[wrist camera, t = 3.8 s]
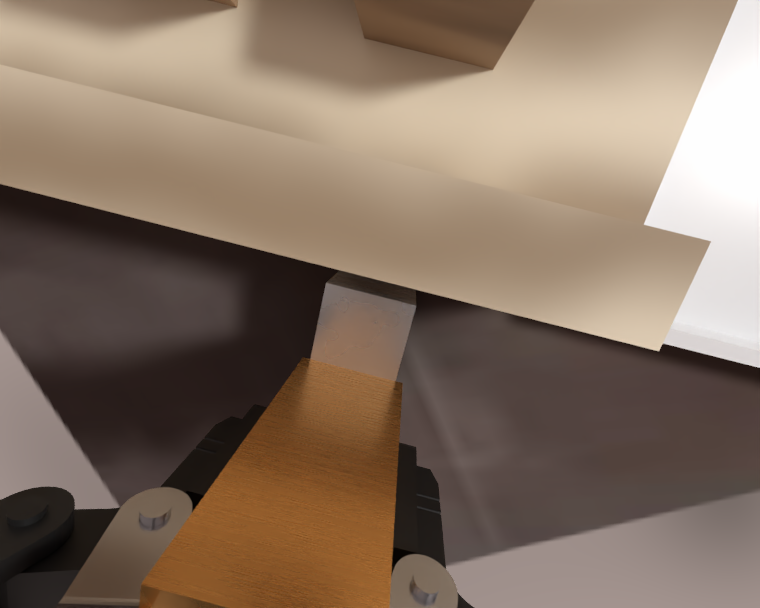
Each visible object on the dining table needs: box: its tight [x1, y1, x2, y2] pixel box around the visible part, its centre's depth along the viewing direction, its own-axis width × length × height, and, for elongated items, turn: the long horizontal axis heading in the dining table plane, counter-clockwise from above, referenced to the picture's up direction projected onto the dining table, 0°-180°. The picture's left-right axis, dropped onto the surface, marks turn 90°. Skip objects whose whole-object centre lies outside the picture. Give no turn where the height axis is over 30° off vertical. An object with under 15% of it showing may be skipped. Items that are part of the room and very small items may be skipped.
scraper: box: [139, 270, 416, 608], centre depth 11 cm, size 9×4×12 cm, turn 167°
